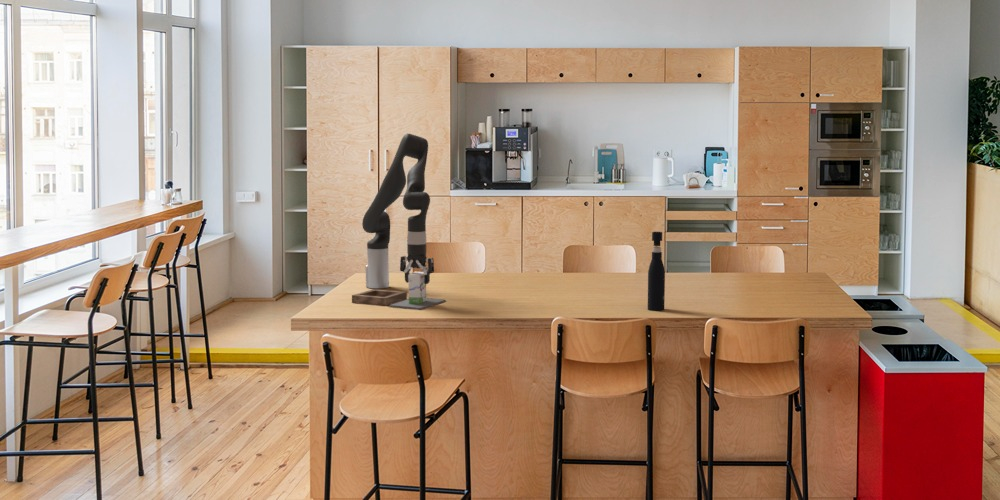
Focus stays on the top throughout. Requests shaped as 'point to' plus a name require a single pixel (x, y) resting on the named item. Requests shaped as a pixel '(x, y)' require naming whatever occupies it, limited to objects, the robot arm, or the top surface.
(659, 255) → the wine bottle
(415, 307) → the rubber mat
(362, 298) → the frame
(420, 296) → the ink box
